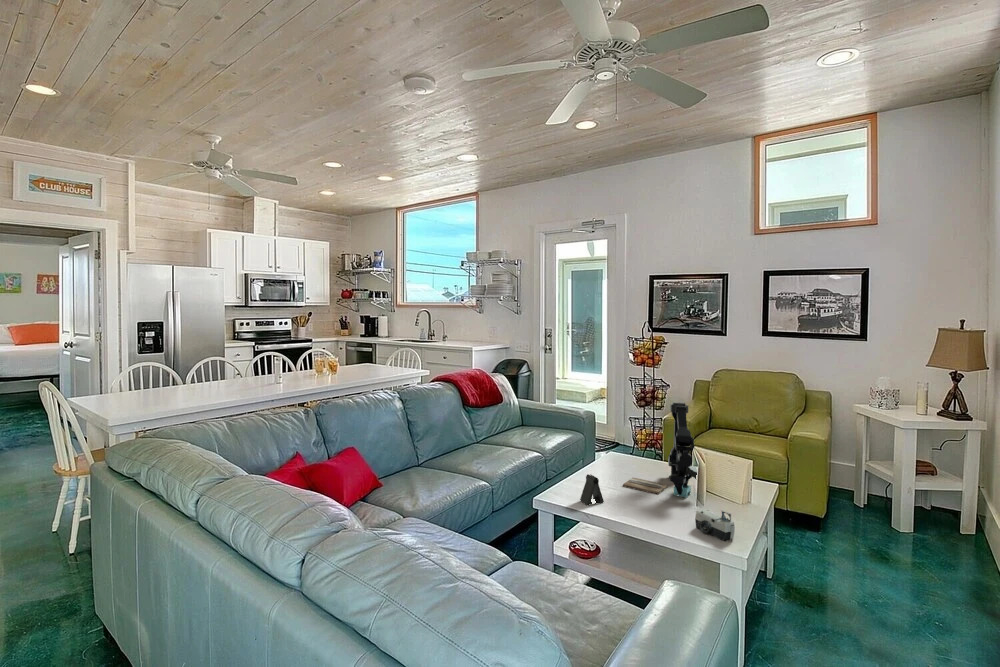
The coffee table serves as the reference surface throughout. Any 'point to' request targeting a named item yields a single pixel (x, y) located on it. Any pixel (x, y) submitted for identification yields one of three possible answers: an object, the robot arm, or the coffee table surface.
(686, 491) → the block
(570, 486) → the coffee table surface
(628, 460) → the coffee table surface
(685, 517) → the coffee table surface
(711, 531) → the camera
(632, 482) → the rail plate
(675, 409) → the robot arm
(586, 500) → the phone stand
